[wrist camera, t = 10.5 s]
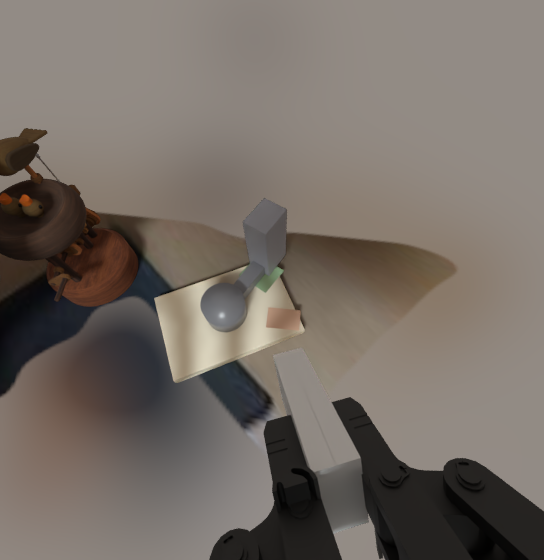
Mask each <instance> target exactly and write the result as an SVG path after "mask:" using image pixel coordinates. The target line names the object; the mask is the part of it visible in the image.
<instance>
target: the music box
mask: <svg viewBox="0 0 544 560" xmlns="http://www.w3.org/2000/svg"><path fill="white" fill-rule="evenodd" d="M46 134H47V131H46V130H37V129H34V130H33V129H28V128H26V129H24V130H23V131H22V133H21V134H20V136H19V137H11V138H6V139H2V140H0V175H2V176H10V175H13V174H15V173H17V172H18V171H20V170H22V169H24V168H25V170H26V171H27V172H28V173H29V174H30V175H31V180H26V181H23V182H20V183H17V184H15V185H12V186H11V187H9V188H7V189H5V190H4V191H2V192H1V193H0V253H1V254H3V255H5V256H7V257H10V258H13V259H17V260H26V261H31V260H40V259H46V260H48V261H49V262H48V265H47V279H48V283H49V284H50V285H51V287H52V288H53V289H54V290H55V291H57V294H56V296H55V299H54V300H55V301H57V302H58V301H60V299H61V296H62V295H63V296H64V297H66V298H67V299H69V300H70V301H72V302H73V303H75V304H78V305H81V306H98V305H102V304H105V303H108V302H110V301H112V300H114V299H116V298H117V297H119V296H120V295H122V294H123V293H124V292H125V291H126V290H127V289H128V288H129V287H130V285H131V284H132V283H133V281H134V279H135V277H136V274H137V271H138V259H137V256H136V254H135V252H134V251H133V249H132V248H131V247H130V245H129V244H128V243H127V242H126V240H125V239H124V238H123V237H122V236H121V235H120V234H119V233H117V232H115V231H113V230H110V229H106V228H92V226H94V225H96V224H99V223H100V217H99V216H98V215H97V214H96V213H95V212H94V211H92V210H90V209H88V208H86V207H85V205H84V202H83V200H82V199H81V197H80V192H79V191H78V189H77V188H76V187H75V185H69V186H68V185H66V184H64V183H62V182H60V181H59V180H58V179H57V177H56V176H55V175H54V174H53V173H52V171H51V170H50V169H49V168H48V167H47V166H46V165H45V163H44V162H43V161H42V160H41V159H40V156H39V154H37V152H38V150H39V145H38V144H36V143H33V142H35V141H37V140H38V139H39V138H41V137H43V136H44V135H46ZM35 156H36V157H37V158H39V159H40V160H41V161H42V163H43V164H44V165H45V166H46V167H47V169H48V170H49V171H50V172H51V173H52V174H53V176H54V177H55V178H56V179H57V180H58V181H55V180H51V179H43V177H42V176H41V175H40V174H39V173H35V172H34V171H33V170H32V169H31V167H30V166H29V164H30V163H31V161H32V160H33V159H34V157H35Z"/></svg>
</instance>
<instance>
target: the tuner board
mask: <svg viewBox="0 0 544 560" xmlns="http://www.w3.org/2000/svg"><path fill="white" fill-rule="evenodd" d="M249 265H250V263H249V264H248V265H247V266H245V267H242V268H239V269H236V270H233V271H231V272H228V273H225V274H222V275H219V276H216V277H213V278H211V279H208V280H205V281H202V282H199V283H196V284H193V285H191V286H188V287H185V288H182V289H179V290H176V291H173V292H171V293H168V294H165V295H162V296H159V297H156V298H154V299H155V303H156V307H157V312H158V316H159V320H160V325H161V329H162V333H163V337H164V342H165V346H166V350H167V355H168V359H169V363H170V368H171V372H172V376H173V380H174V382H176V383H178V382H181V381H183V380H186V379H188V378H191V377H193V376H196V375H199V374H201V373H204V372H206V371H209V370H211V369H214V368H216V367H219V366H221V365H224V364H226V363H229V362H231V361H234V360H236V359H239V358H242V357H244V356H247V355H249V354H252V353H254V352H257V351H259V350H262V349H264V348H267V347H269V346H272V345H274V344H277V343H279V342H282V341H284V340H287V339H290V338H292V337H295V336H297V335H300V334H302V333H304V330H305V329H304V327H303V325H302V323H301V321H300V313H301V310H295V308H294V306H293V304H292V301H291V299H290V297H289V295H288V293H287V291H286V289H285V286H284V284H283V282H282V280H281V278H280V275H281V274H282V273H283V271H284V270H282V269H280V268H279V267H277V266H276V268H275V269H274V270H273V272H272V273H271V274H270V275H269V276H268V275H266V274H264V276H263V277H262V278H261V279H260V281H259V282H258V283H257V285H256V286H255V287H254V288H253V290H252V291H251V292H250V293H249V295H248V296H247V297H246V299H245V304H246V308H247V316H246V319H245V321H244V323H243V324H242V325H241V326H240V327H239V328H238V329H236V330H234V331H231V332H219V331H217V330H215V329H213V328H212V327H211V326H210V325H209V323H208V321H207V320H206V318H205V317H204V315H203V313H202V311H201V307H200V302H201V298H202V296H203V294H204V293H205V291H206V290H207V289H208V288H210V287H211V286H213V285H215V284H218V283H230V284H234V283H235V282H236V281H237V279H238V278H239V277H240V276H241V274H242V273H243V272H244V271H245V270H246V268H247V267H248V266H249Z"/></svg>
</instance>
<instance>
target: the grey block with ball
mask: <svg viewBox="0 0 544 560" xmlns="http://www.w3.org/2000/svg"><path fill="white" fill-rule="evenodd" d="M286 219H287V209H285V208H283V207H281V206H279V205H277V204H275V203H273V202H271V201H269V200H267V199H265V198H264V199H263V200H262V201H261V202H260V203H259V204H258V205H257V206H256V208H255V209H254V210H253V211H252V212H251V213H250V214H249V216H247V218H246V219H245V220H244V221H243V227H244V233H245V238H246V244H247V250H248V255H249V261H250V265H249V266H248V267H247V268H246V270H245V271H244V272H243V273H242V274H241V276H240V277H239V278H238V279H237V281H236V282H235V283H234V284H230V283H218V284H215V285H213V286H211V287H210V288H208V289H207V290H206V291H205V293H204V294H203V296H202V298H201V302H200V307H201V311H202V313H203V315H204V317H205V318H206V320H207V321H208V323H209V325H210V326H211V327H212V328H213V329H215V330H217V331H219V332H231V331H234V330H236V329H238V328H239V327H240V326H241V325H242V324H243V323H244V321H245V319H246V316H247V308H246V304H245V299H246V297H247V296H248V295H249V293H250V292H251V291H252V290H253V288H254V287H255V286H256V285H257V283H258V282H259V281H260V279H261V278H262V277H263V276H264V274H266V275H268V276H269V275H270V274H271V273H272V272H273V270H274V269H275V268H276V266H277V265H278V264H279V262H280V261H281V260H282V259H283V257H284V256H285V255H286Z"/></svg>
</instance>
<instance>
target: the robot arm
mask: <svg viewBox="0 0 544 560" xmlns="http://www.w3.org/2000/svg"><path fill="white" fill-rule="evenodd" d="M273 358H274V363H275V367H276V372H277V377H278V381H279V386H280V391H281V395H282V400H283V403H284V407H285V410H286V413H287V416H285V417H281V418H277V419H274V420H270V421H267V423H266V426H265V430H264V438H265V443H266V448H267V454H268V459H269V464H270V469H271V474H272V480H273V488H272V491H273V492H272V493H273V496H274V500H275V501H274V506H273V509H272V511H271V512H270V514H269V515H268V517H267V518H266V519H265V520H264V521H263V522H262V523H261V524H259V525H258V526H257V527H255V528H254V529H252V530H251V531H250V532H249V531H248V530H245V529H239V528H238V529H234V530H230V531H229V532H227V533H226V534H224V535H223V536H221V537H220V539H219V540H218V541H217V543H216V544H215V546H214V548H213V550H212V553H211V556H210V560H342V558H341V556H340V553H339V550H338V547H337V544H336V541H335V538H334V535H333V534H334V533H337V532H340V531H343V530H346V529H349V528H352V527H355V526H358V525H361V524H364V523H367V522H369V520H368V514H369V516H370V518H371V520H372V522H373V524H374V527H375V535H376V544H377V551H378V555H379V559H381V558H383V556H384V558H385V560H544V511H542V510H541V509H539V507H537V506H536V505H535V504H533V503H532V502H531V501H529V500H528V499H527V498H525V497H524V496H523V495H521V494H520V493H519V492H517V491H516V490H515V489H513V488H512V487H511V486H510V485H508V484H507V483H506V482H504V481H503V480H502V479H500V478H499V477H498V476H496V475H495V474H493V473H492V472H491V471H490V470H488V469H487V468H486V467H484V466H483V465H481V464H479V463H477V462H476V461H472V460H469V459H466V458H456V459H453V460H450V461H448V462H447V463H446V465H445V466H444V470H443V471H424V470H417V469H414V468H410V467H408V466H407V465H406V464H405V463H403V462H401V461H400V460H398V459H397V458H396V457H395V455H394V454H393V453H392V451H391V450H390V448H389V447H388V445H387V444H386V442H385V441H384V439H383V438H382V436H381V434H380V433H379V432H378V430H377V429H376V427H375V425H374V424H373V423H372V421H371V419H370V418H369V416H367V413H366V412H365V411H364V409H363V407H362V406H361V404H359V403H358V402H356V401H355V400H354V399H352V398H351V397H349V398H346V399H342V400H338V401H335V402H331V401H330V399H329V397H328V395H327V393H326V391H325V389H324V387H323V386H322V384H321V382H320V380H319V378H318V376H317V374H316V372H315V370H314V369H313V367H312V365H311V363H310V361H309V359H308V357H307V355H306V353H305V352H304V350H303V348H298V349H294V350H290V351H286V352H283V353H279V354H275V355H273ZM382 553H383V554H382Z"/></svg>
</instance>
